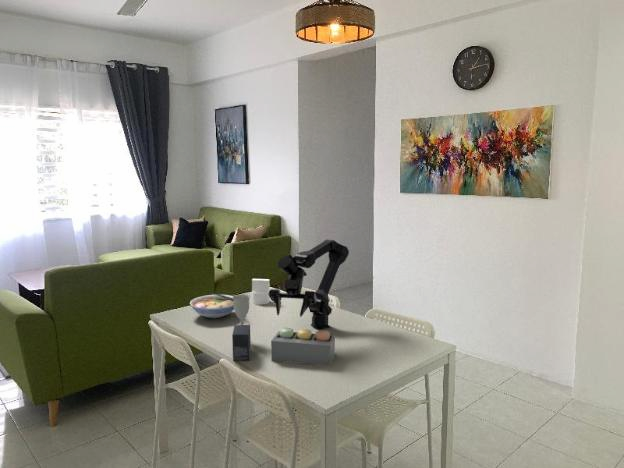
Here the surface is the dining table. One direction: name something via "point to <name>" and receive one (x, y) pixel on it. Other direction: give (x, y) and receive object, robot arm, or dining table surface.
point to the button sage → (286, 333)
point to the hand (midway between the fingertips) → (289, 315)
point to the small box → (241, 343)
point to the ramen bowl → (213, 305)
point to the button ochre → (304, 334)
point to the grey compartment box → (303, 350)
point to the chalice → (241, 306)
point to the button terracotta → (323, 336)
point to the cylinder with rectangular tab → (260, 291)
